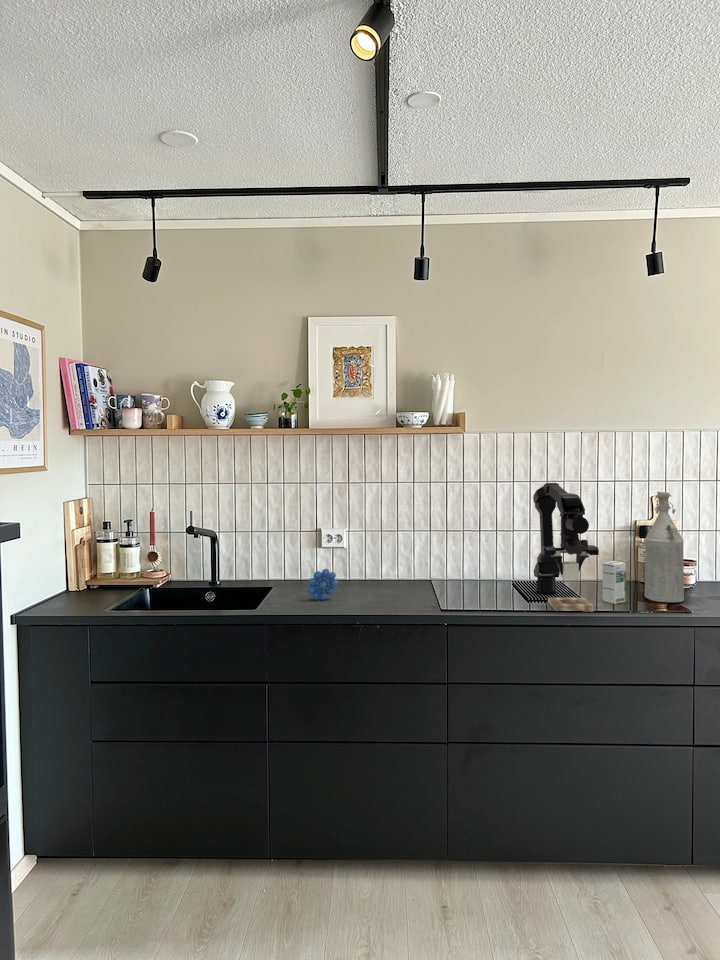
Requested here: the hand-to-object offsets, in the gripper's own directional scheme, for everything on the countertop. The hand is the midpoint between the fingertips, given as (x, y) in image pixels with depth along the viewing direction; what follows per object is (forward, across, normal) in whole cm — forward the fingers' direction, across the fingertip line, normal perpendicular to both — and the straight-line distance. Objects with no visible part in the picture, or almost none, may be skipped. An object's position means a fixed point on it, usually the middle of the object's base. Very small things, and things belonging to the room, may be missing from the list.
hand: (569, 574), depth 222 cm
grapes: (+12, -89, +13) cm, 91 cm away
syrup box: (+12, +18, +8) cm, 23 cm away
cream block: (+1, 0, 0) cm, 1 cm away
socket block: (+12, 0, 0) cm, 12 cm away
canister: (+12, +38, +12) cm, 41 cm away
